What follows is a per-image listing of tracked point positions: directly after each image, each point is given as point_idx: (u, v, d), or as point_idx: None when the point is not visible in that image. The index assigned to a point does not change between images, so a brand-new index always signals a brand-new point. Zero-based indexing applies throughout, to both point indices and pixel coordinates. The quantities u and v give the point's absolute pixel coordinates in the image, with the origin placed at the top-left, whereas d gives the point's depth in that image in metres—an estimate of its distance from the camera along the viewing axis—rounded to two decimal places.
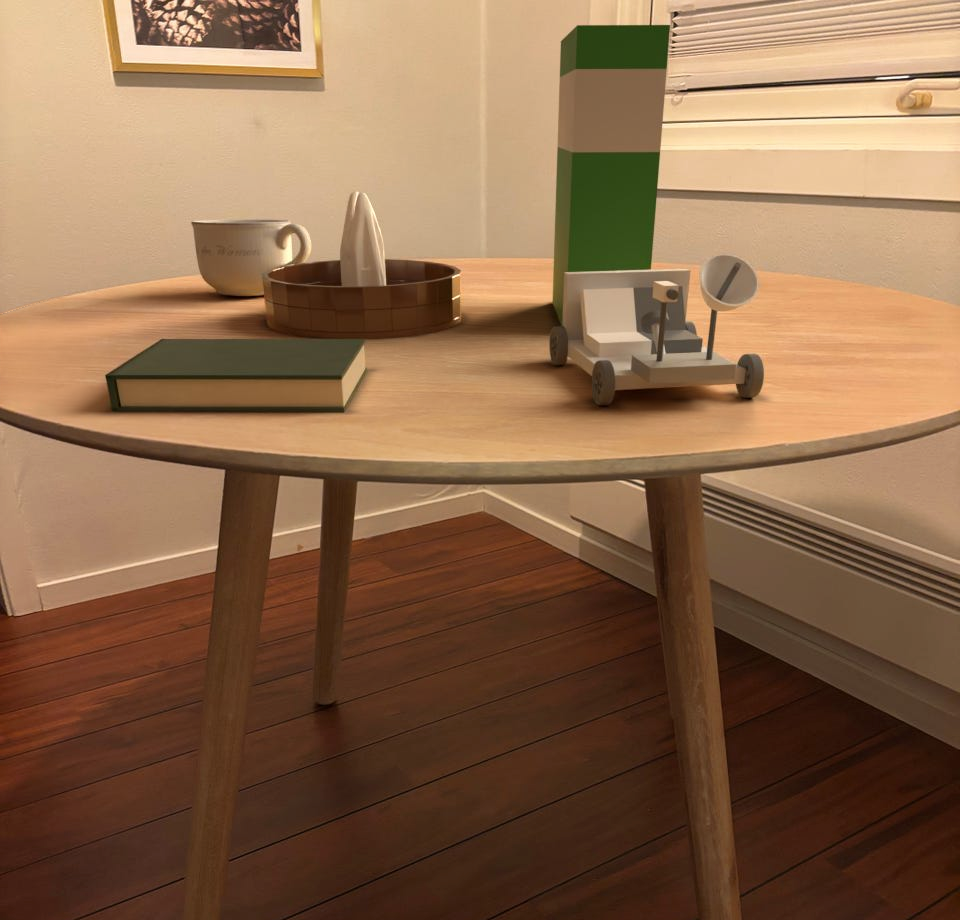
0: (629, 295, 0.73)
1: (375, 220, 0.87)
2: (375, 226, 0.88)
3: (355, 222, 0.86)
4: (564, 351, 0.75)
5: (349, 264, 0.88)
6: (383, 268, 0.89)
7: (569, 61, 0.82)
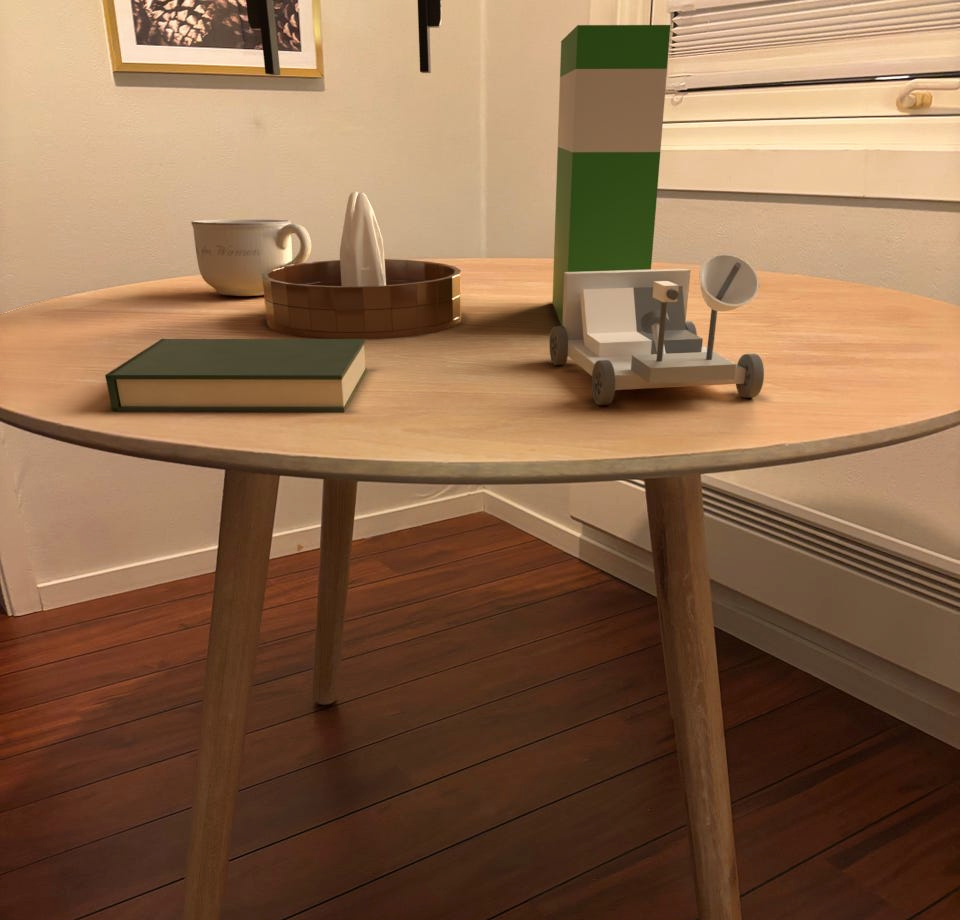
0: (629, 295, 0.73)
1: (375, 220, 0.87)
2: (375, 226, 0.88)
3: (355, 222, 0.86)
4: (564, 351, 0.75)
5: (349, 264, 0.88)
6: (383, 268, 0.89)
7: (569, 61, 0.82)
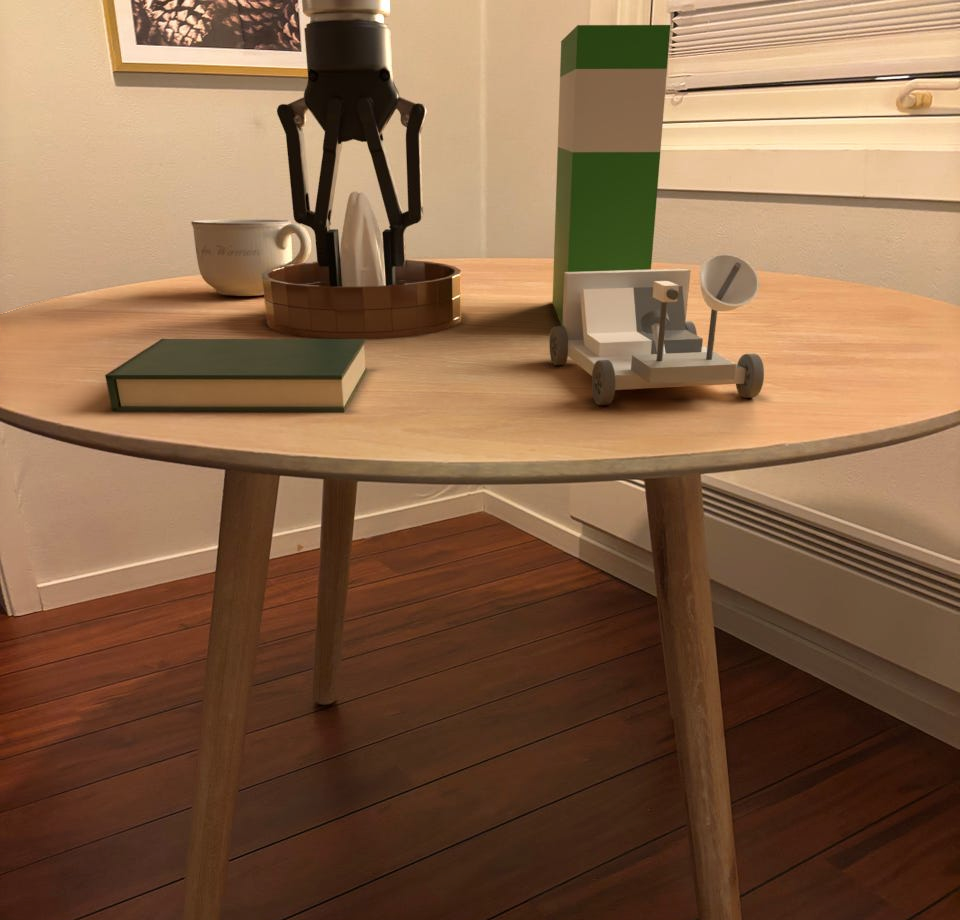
0: (629, 295, 0.73)
1: (374, 220, 0.87)
2: (374, 226, 0.88)
3: (354, 222, 0.86)
4: (564, 351, 0.75)
5: (348, 264, 0.88)
6: (382, 268, 0.89)
7: (569, 61, 0.82)
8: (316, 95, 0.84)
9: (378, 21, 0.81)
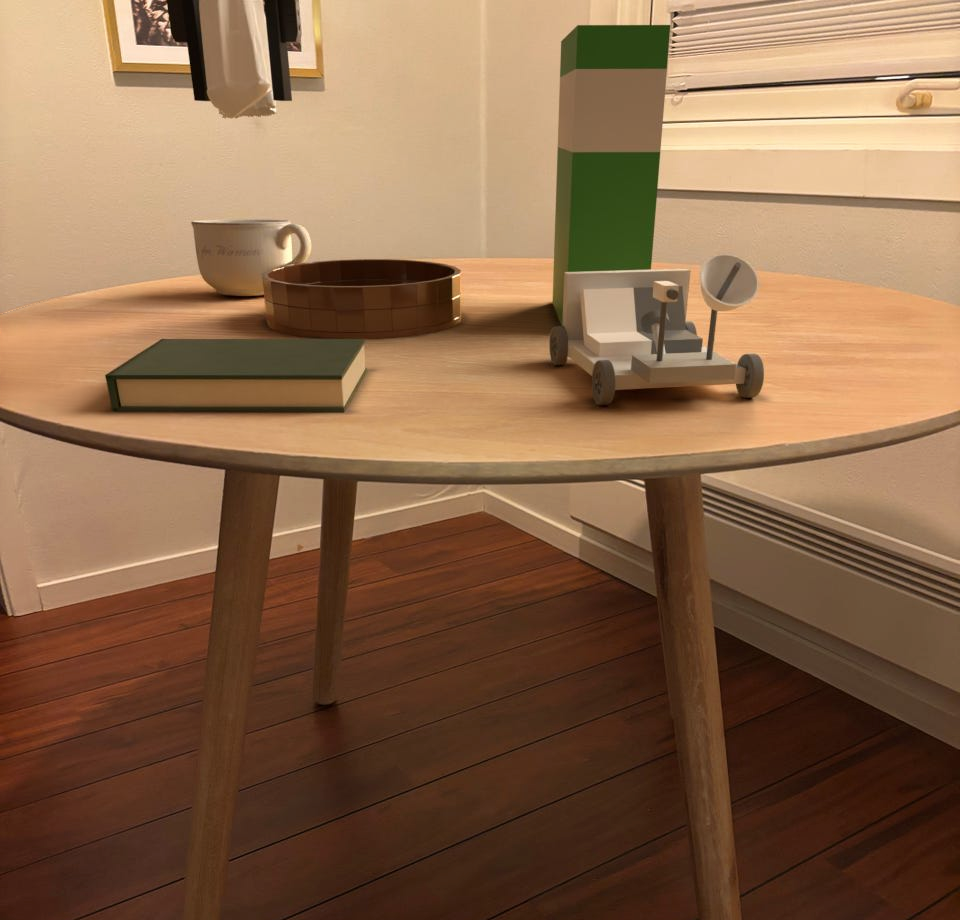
0: (629, 295, 0.73)
1: None
2: None
3: None
4: (564, 351, 0.75)
5: (210, 26, 0.59)
6: (263, 37, 0.61)
7: (569, 61, 0.82)
8: None
9: None
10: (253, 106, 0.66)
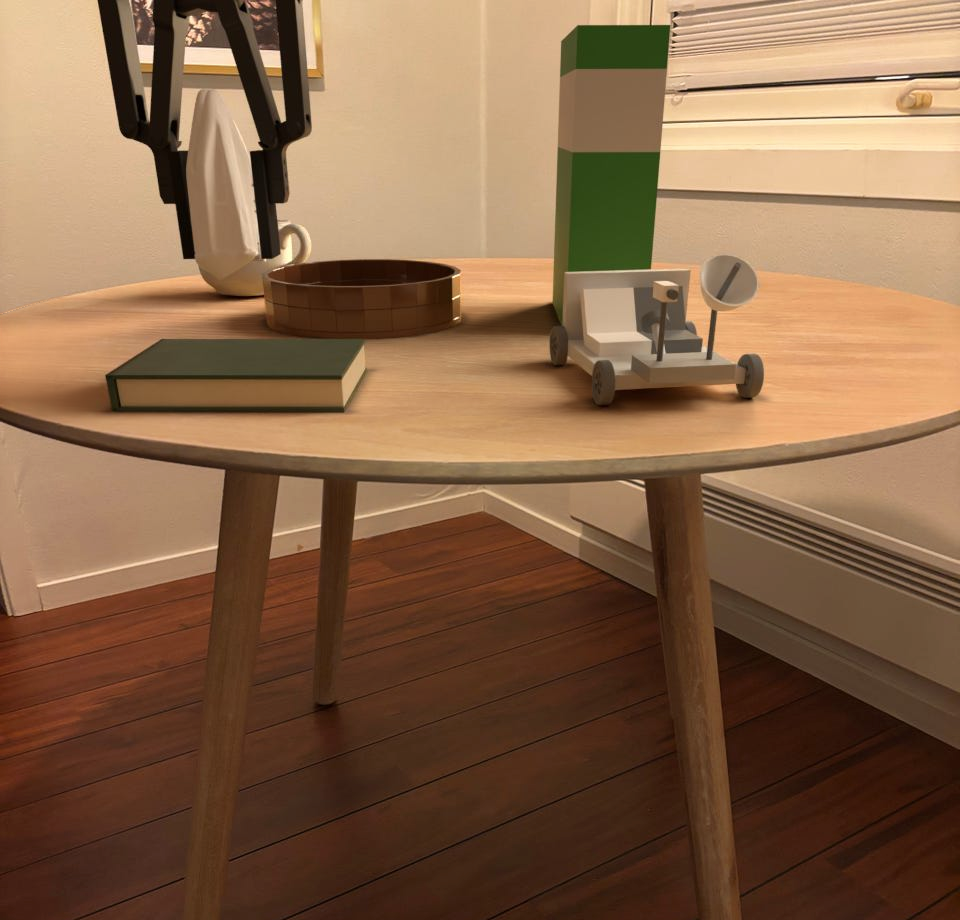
0: (629, 295, 0.73)
1: (234, 131, 0.59)
2: (235, 141, 0.59)
3: (202, 133, 0.58)
4: (564, 351, 0.75)
5: (197, 197, 0.60)
6: (250, 204, 0.61)
7: (569, 61, 0.82)
8: None
9: None
10: None
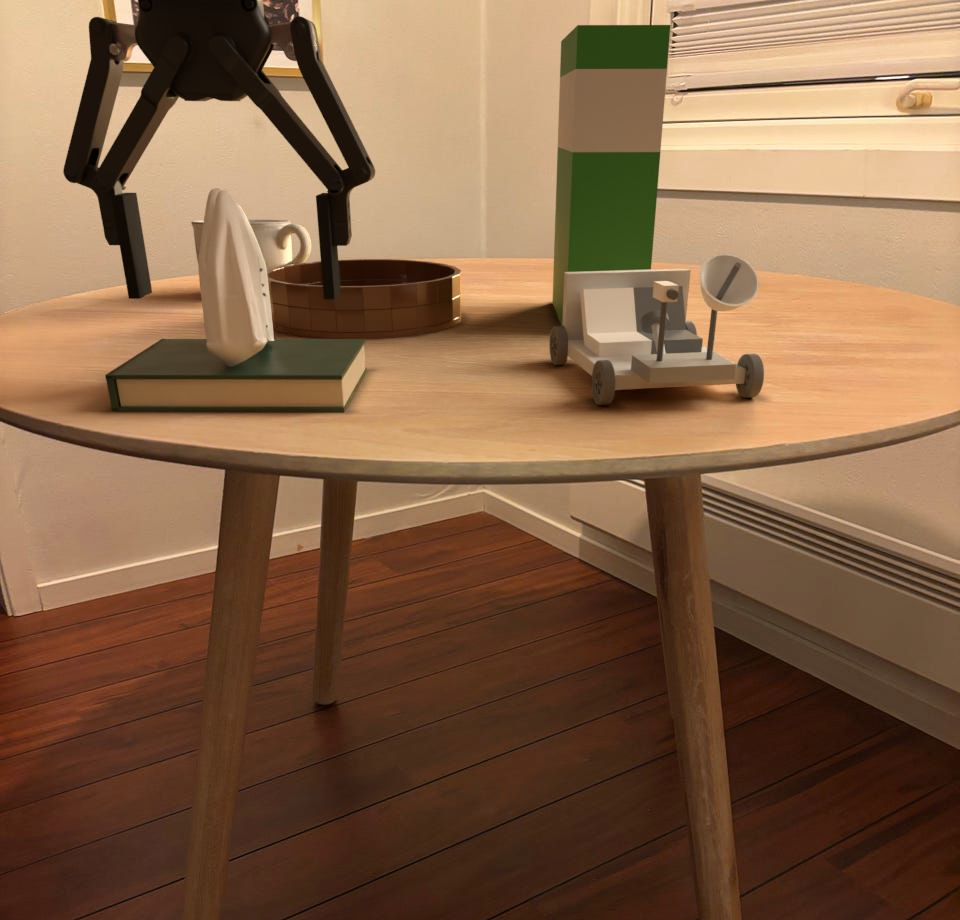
0: (629, 295, 0.73)
1: (244, 229, 0.62)
2: (245, 237, 0.62)
3: (214, 232, 0.61)
4: (564, 351, 0.75)
5: (209, 291, 0.63)
6: (260, 295, 0.64)
7: (569, 61, 0.82)
8: (152, 33, 0.58)
9: None
10: None
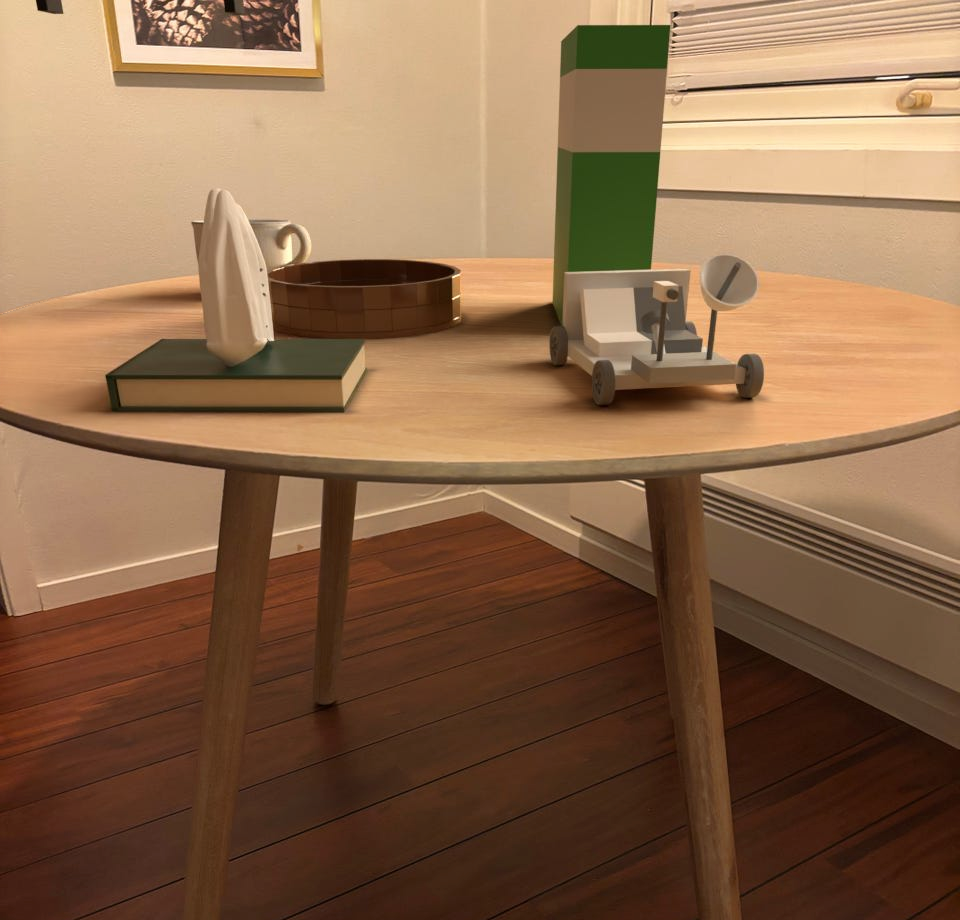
0: (629, 295, 0.73)
1: (244, 229, 0.62)
2: (245, 237, 0.62)
3: (214, 232, 0.61)
4: (564, 351, 0.75)
5: (209, 291, 0.63)
6: (260, 295, 0.64)
7: (569, 61, 0.82)
8: None
9: None
10: None
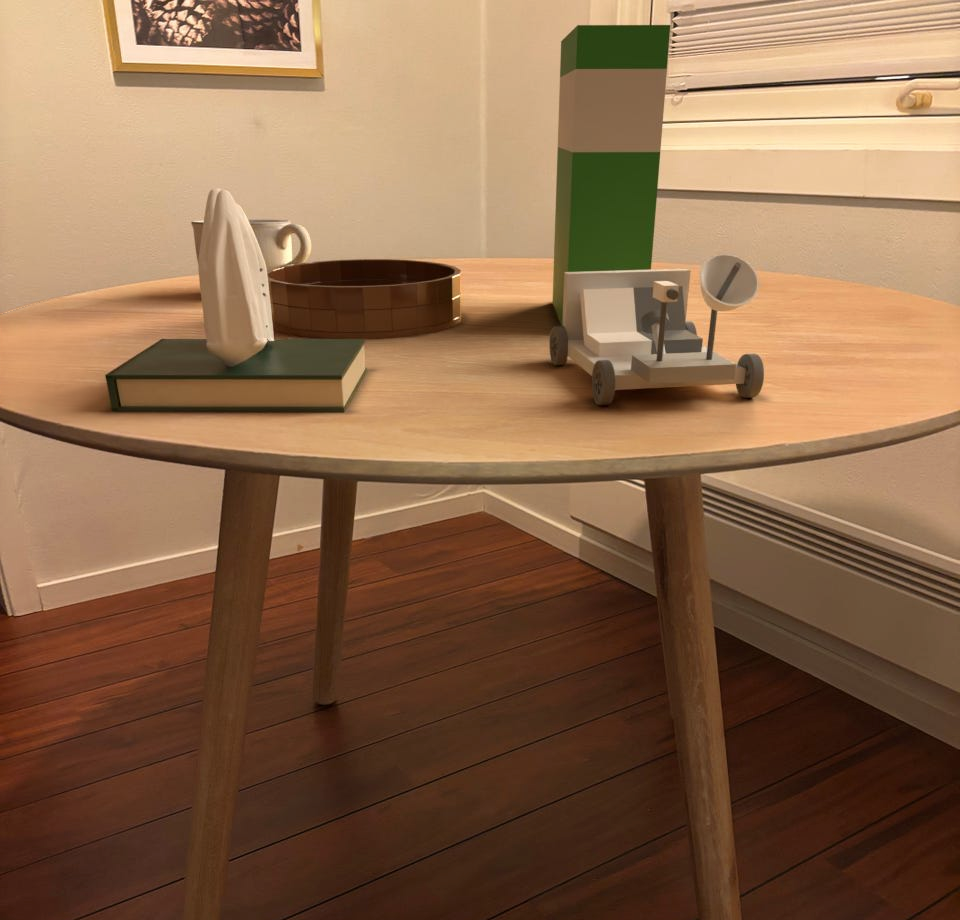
0: (629, 295, 0.73)
1: (244, 229, 0.62)
2: (245, 237, 0.62)
3: (214, 232, 0.61)
4: (564, 351, 0.75)
5: (209, 291, 0.63)
6: (260, 295, 0.64)
7: (569, 61, 0.82)
8: None
9: None
10: None
